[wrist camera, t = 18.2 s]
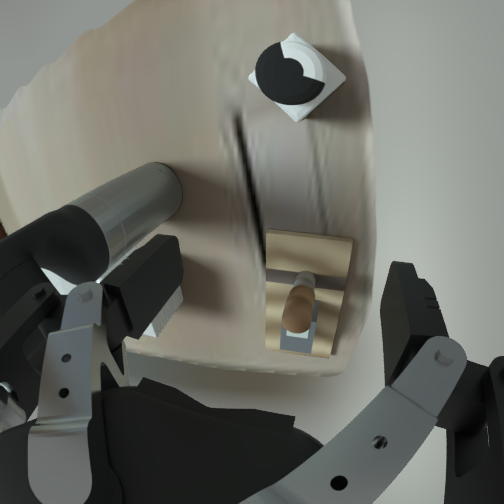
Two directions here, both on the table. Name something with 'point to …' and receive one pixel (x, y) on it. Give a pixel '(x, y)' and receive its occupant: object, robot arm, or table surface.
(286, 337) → the block
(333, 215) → the table surface
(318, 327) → the board
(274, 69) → the medicine bottle
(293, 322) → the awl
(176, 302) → the white rectangular block
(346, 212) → the table surface
